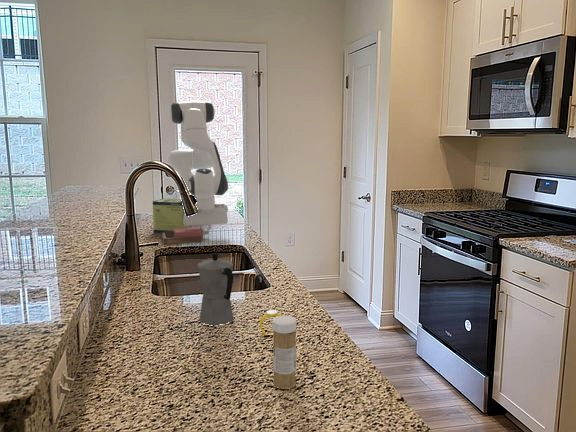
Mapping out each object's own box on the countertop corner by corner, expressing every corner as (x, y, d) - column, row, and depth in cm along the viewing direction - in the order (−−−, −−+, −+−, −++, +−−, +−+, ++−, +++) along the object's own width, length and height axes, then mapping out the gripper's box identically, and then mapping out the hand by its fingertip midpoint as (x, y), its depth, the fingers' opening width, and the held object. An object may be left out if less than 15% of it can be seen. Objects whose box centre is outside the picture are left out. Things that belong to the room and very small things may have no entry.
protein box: (183, 234, 228) (181, 202, 225) (153, 232, 231) (151, 201, 228) (191, 229, 238) (190, 199, 235) (163, 228, 241) (161, 198, 238)
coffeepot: (189, 316, 126) (187, 250, 123) (221, 308, 131) (219, 245, 128) (215, 336, 113) (213, 263, 110) (249, 327, 119) (248, 257, 116)
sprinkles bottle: (278, 377, 94) (278, 313, 92) (299, 381, 93) (300, 316, 90) (269, 388, 90) (268, 321, 88) (291, 393, 89) (291, 325, 86)
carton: (174, 239, 219) (173, 228, 218) (200, 237, 223) (199, 227, 222) (176, 243, 211) (175, 232, 210) (203, 241, 214) (202, 230, 213)
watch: (261, 339, 113) (259, 315, 111) (260, 334, 115) (258, 311, 114) (286, 335, 114) (284, 312, 112) (284, 331, 116) (282, 308, 115)
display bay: (162, 237, 221) (162, 231, 220) (197, 234, 226) (197, 229, 225) (164, 244, 206) (163, 238, 206) (201, 241, 211) (201, 236, 211)
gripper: (226, 202, 223) (227, 231, 225) (182, 204, 216) (183, 234, 219) (228, 204, 217) (229, 234, 219) (183, 206, 211) (184, 237, 213)
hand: (206, 234), depth 219 cm, fingers closed
